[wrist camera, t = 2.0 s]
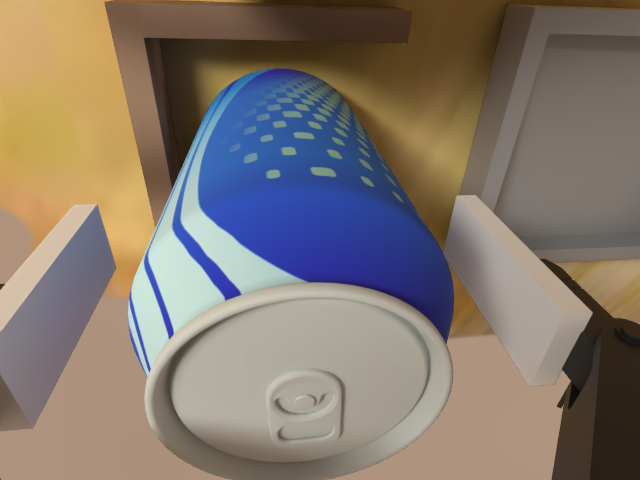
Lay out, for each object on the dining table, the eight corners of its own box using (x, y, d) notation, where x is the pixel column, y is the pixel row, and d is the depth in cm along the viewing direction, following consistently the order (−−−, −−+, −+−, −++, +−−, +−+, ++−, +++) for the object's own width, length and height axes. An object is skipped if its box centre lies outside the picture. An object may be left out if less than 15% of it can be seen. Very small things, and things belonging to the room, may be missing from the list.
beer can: (172, 161, 22) (25, 454, 8) (261, 23, 19) (250, 144, 5) (295, 235, 25) (329, 525, 12) (387, 130, 22) (571, 364, 9)
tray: (507, 3, 19) (535, 7, 17) (760, 12, 21) (812, 16, 19) (447, 244, 27) (461, 266, 25) (634, 237, 28) (662, 257, 27)
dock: (123, -2, 17) (104, 2, 15) (395, 7, 19) (411, 11, 17) (174, 250, 25) (166, 276, 23) (367, 244, 26) (376, 267, 24)
